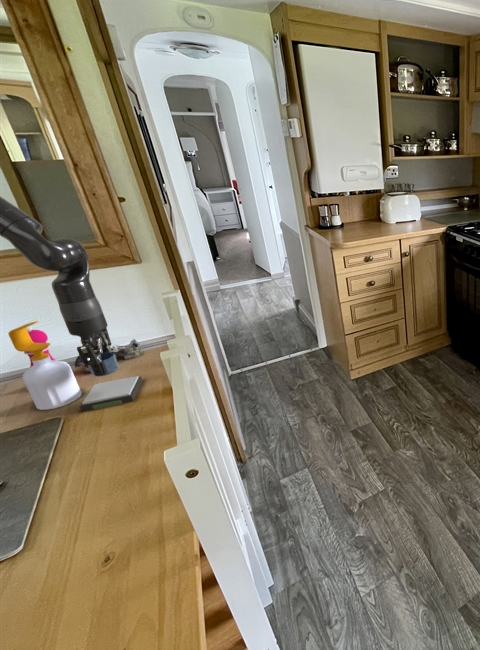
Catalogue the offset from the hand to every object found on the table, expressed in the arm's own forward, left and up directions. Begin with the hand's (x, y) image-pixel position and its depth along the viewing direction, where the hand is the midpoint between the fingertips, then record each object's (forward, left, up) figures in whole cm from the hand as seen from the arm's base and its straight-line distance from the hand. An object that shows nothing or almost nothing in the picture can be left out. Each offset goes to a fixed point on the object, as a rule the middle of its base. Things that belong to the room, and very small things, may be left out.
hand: (104, 368), depth 106 cm
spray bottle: (-13, +4, -10) cm, 17 cm away
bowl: (0, 0, -1) cm, 1 cm away
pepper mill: (-18, +15, -10) cm, 25 cm away
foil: (-6, +24, -10) cm, 26 cm away
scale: (0, 0, -10) cm, 10 cm away
